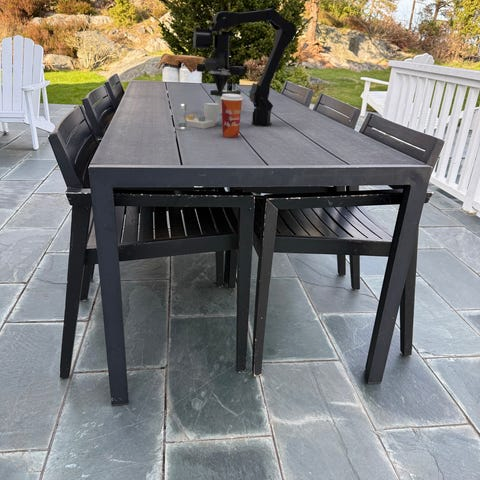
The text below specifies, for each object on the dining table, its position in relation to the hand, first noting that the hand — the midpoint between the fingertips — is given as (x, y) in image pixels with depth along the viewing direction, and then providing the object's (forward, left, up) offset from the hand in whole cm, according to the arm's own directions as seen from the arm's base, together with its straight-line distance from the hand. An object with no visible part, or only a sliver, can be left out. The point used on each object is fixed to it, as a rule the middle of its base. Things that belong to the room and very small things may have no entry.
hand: (220, 93), depth 169 cm
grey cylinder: (+6, -4, -12) cm, 14 cm away
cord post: (+6, +17, -12) cm, 22 cm away
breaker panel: (+6, +7, -12) cm, 15 cm away
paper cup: (-14, +16, -12) cm, 25 cm away
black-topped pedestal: (+12, -28, -13) cm, 33 cm away
